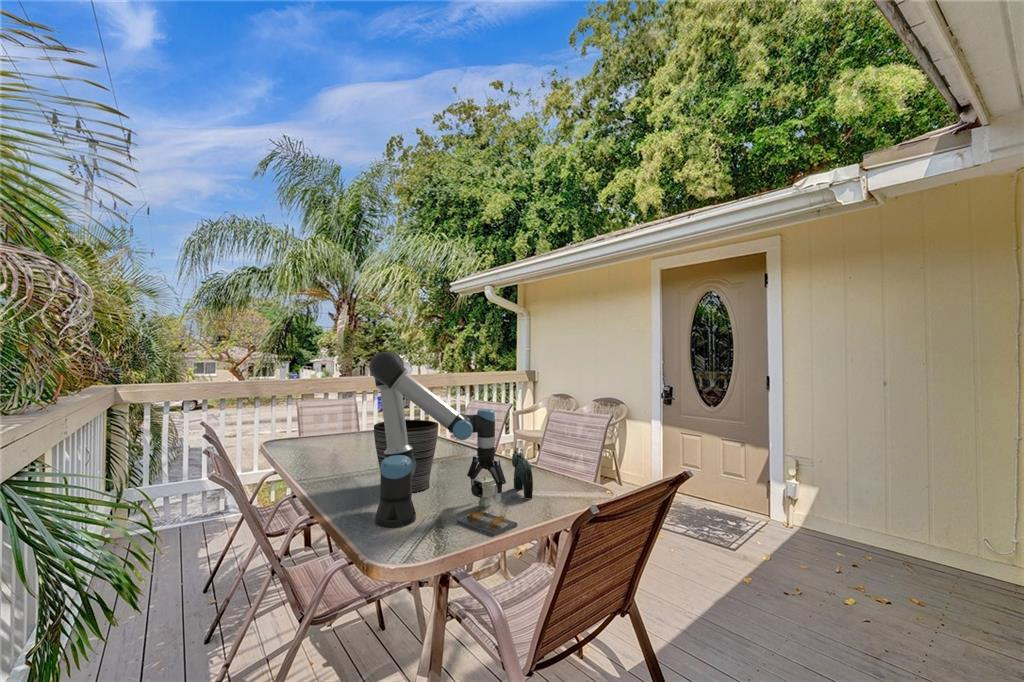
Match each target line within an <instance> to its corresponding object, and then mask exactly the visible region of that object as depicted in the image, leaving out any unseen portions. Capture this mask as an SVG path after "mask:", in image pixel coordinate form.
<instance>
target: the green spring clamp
mask: <svg viewBox="0 0 1024 682" xmlns="http://www.w3.org/2000/svg"><path fill="white" fill-rule="evenodd" d="M511 456H512V457H511V458H512V459H511V464H512V467H513V468H514V473H513V489H514V488H515V489H522V490H523V498H524V497H525V498H532V499H533V490H534V489H533V488H534V479H533V477H534V476H533V471H532V464H530V462H529V460H528V459H526V458H525V455H524V452H523V448H520V449H519V452H517V450H515V449H514V453H513V454H512V455H511ZM515 489H514V490H515ZM525 498H524V499H525Z"/></svg>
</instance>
